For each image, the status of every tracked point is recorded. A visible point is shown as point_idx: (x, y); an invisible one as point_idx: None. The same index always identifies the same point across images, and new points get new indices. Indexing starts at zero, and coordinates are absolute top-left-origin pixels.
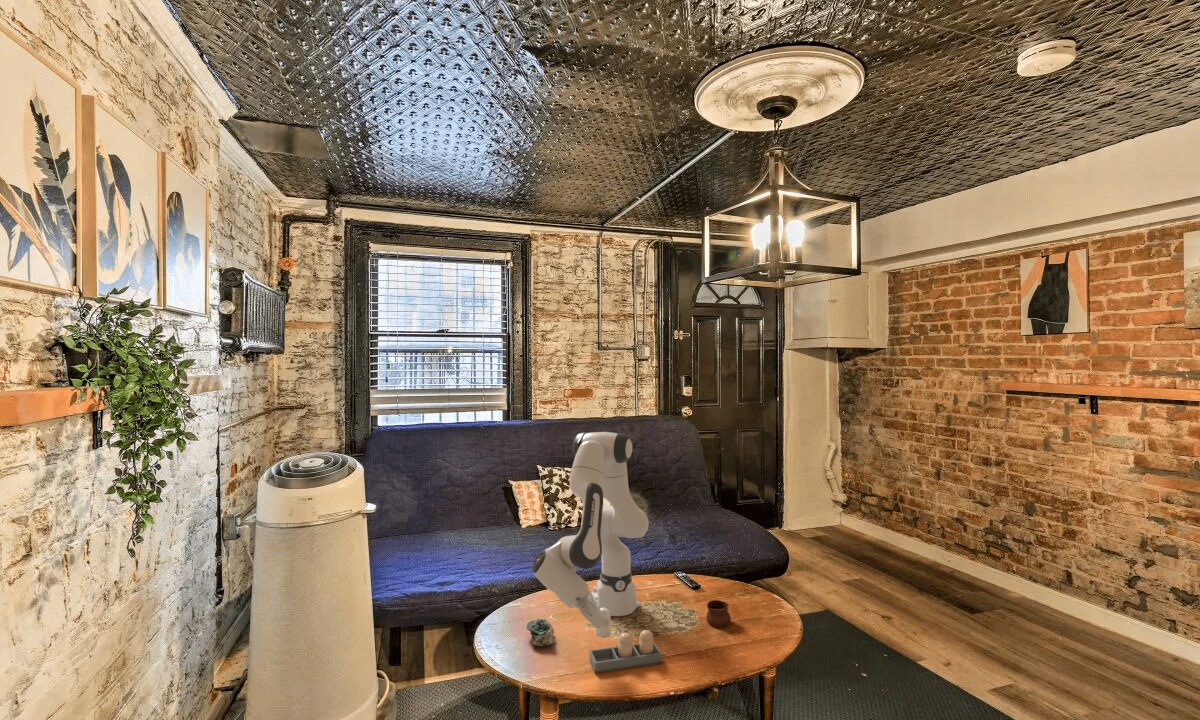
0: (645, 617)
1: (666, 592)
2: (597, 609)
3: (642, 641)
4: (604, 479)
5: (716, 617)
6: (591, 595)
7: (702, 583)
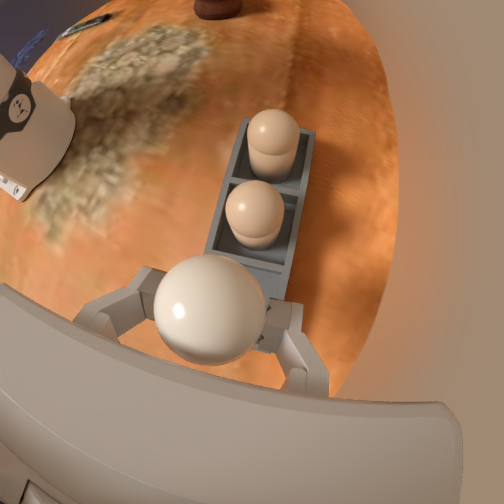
0: (106, 99)
1: (78, 52)
2: (376, 477)
3: (284, 155)
4: None
5: (230, 1)
6: (25, 336)
7: (106, 11)
